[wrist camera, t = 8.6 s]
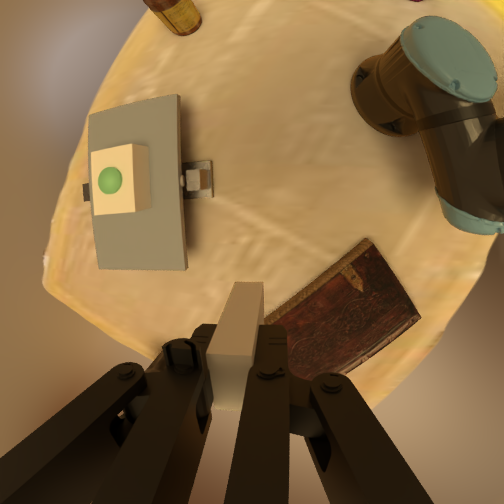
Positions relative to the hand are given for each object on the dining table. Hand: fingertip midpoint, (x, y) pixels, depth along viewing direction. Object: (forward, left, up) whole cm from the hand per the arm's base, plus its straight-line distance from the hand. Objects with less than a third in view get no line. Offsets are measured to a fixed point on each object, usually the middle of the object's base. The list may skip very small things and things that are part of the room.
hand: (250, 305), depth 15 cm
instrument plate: (+14, -16, -25) cm, 33 cm away
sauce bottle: (-7, -40, -33) cm, 52 cm away
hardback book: (0, +23, -33) cm, 40 cm away
